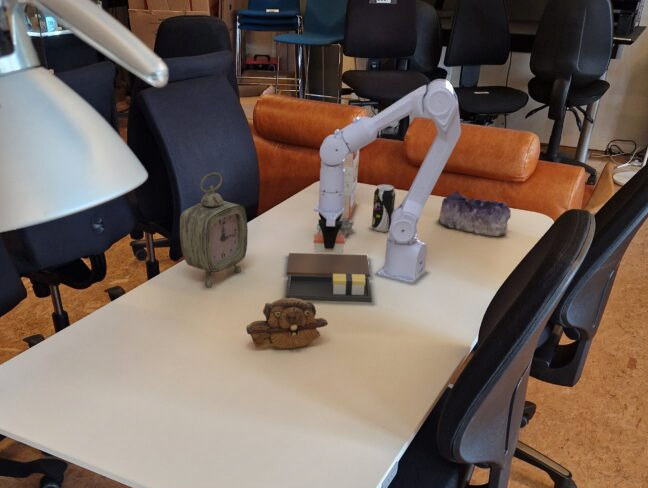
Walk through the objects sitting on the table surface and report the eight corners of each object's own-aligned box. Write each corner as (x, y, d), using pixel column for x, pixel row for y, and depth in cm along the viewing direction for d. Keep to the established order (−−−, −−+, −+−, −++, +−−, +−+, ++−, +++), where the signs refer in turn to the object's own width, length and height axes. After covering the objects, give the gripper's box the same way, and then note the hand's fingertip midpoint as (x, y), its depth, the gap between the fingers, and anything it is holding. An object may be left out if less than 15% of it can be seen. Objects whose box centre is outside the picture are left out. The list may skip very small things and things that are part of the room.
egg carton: (337, 243, 193) (338, 229, 191) (313, 237, 197) (313, 223, 194) (356, 231, 201) (357, 217, 199) (332, 226, 204) (333, 211, 202)
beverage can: (367, 227, 204) (370, 184, 197) (385, 224, 206) (388, 182, 199) (378, 234, 199) (381, 191, 193) (395, 231, 201) (400, 188, 195)
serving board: (367, 259, 184) (367, 255, 184) (369, 278, 174) (370, 274, 174) (289, 257, 185) (289, 252, 184) (287, 276, 175) (287, 271, 174)
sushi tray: (368, 283, 172) (369, 276, 171) (370, 303, 163) (371, 297, 162) (288, 280, 173) (288, 274, 172) (286, 301, 164) (286, 294, 163)
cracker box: (350, 220, 208) (355, 145, 197) (330, 218, 209) (333, 144, 198) (356, 204, 220) (361, 133, 208) (337, 203, 221) (340, 132, 209)
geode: (431, 229, 203) (435, 193, 198) (442, 222, 212) (446, 187, 208) (504, 239, 195) (510, 201, 191) (512, 231, 204) (518, 195, 200)
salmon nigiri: (343, 247, 179) (344, 234, 177) (343, 253, 175) (344, 240, 173) (313, 246, 179) (314, 233, 177) (313, 252, 176) (313, 239, 174)
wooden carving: (250, 357, 143) (249, 311, 137) (245, 346, 146) (244, 301, 141) (329, 347, 146) (331, 302, 141) (322, 336, 150) (324, 292, 144)
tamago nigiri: (363, 287, 169) (364, 273, 167) (364, 295, 166) (365, 281, 164) (332, 286, 169) (332, 272, 168) (332, 294, 166) (333, 280, 164)
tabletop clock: (208, 292, 167) (202, 184, 153) (180, 282, 172) (172, 176, 158) (248, 272, 177) (246, 169, 163) (220, 263, 181) (216, 162, 168)
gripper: (315, 179, 175) (313, 233, 183) (314, 198, 163) (312, 255, 170) (344, 180, 175) (341, 234, 182) (345, 199, 163) (342, 256, 170)
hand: (329, 244), depth 176 cm, fingers closed on salmon nigiri, 4 cm apart
